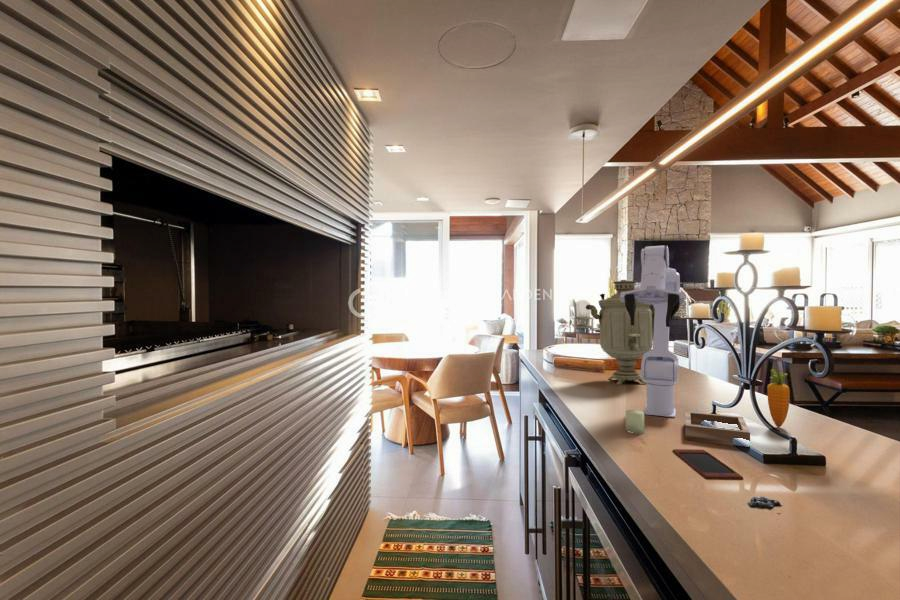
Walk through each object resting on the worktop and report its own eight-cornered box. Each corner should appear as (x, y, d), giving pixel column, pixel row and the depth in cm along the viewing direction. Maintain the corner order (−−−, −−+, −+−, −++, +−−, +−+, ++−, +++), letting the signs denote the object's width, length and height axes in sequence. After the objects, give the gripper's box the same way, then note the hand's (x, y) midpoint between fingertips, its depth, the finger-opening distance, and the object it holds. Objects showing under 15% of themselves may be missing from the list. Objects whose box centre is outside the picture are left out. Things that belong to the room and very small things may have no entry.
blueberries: (803, 518, 71) (804, 506, 71) (762, 520, 69) (763, 508, 69) (765, 499, 78) (766, 488, 78) (727, 500, 76) (728, 489, 76)
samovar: (582, 387, 166) (581, 281, 165) (588, 374, 190) (588, 282, 190) (670, 393, 155) (669, 279, 154) (665, 379, 179) (664, 280, 178)
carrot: (794, 430, 112) (794, 372, 112) (772, 429, 113) (772, 371, 113) (784, 424, 117) (783, 368, 116) (763, 424, 118) (762, 368, 117)
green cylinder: (626, 427, 116) (626, 409, 116) (644, 429, 114) (644, 410, 114) (624, 432, 113) (624, 413, 112) (643, 434, 110) (643, 415, 110)
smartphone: (705, 476, 84) (671, 448, 99) (705, 481, 84) (671, 452, 99) (744, 476, 84) (704, 448, 99) (744, 481, 84) (704, 453, 99)
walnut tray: (685, 424, 119) (685, 411, 119) (742, 430, 113) (742, 416, 112) (685, 439, 106) (685, 425, 106) (750, 447, 100) (750, 432, 100)
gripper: (621, 271, 113) (615, 311, 106) (685, 270, 106) (684, 313, 99) (623, 289, 118) (618, 329, 110) (684, 289, 111) (683, 332, 104)
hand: (649, 323), depth 105 cm, fingers open, 7 cm apart
